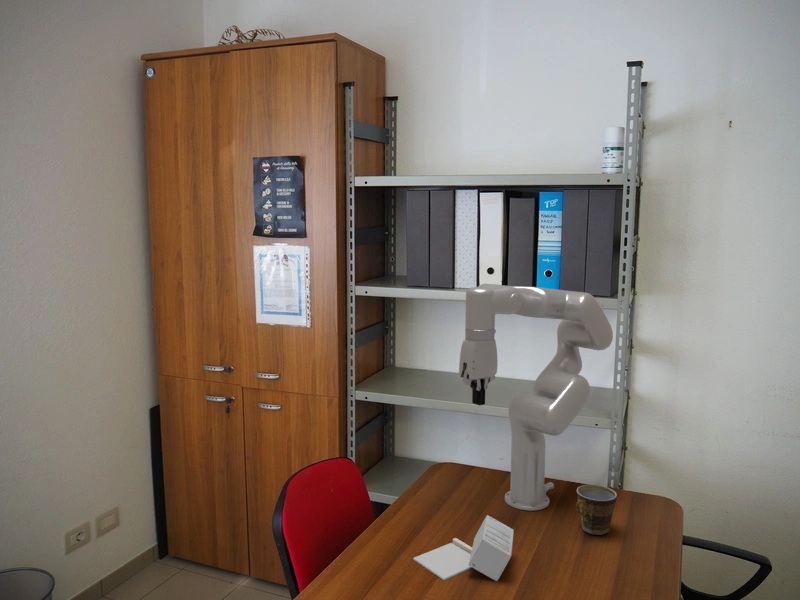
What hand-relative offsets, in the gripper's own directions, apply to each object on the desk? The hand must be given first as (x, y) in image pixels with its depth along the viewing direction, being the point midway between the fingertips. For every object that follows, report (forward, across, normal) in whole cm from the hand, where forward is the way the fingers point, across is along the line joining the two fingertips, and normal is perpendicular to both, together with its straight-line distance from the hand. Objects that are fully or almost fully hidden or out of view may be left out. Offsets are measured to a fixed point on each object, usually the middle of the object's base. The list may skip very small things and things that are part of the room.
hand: (478, 403), depth 164 cm
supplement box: (+27, +8, +14) cm, 32 cm away
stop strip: (+32, +13, +11) cm, 36 cm away
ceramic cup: (+32, -20, +22) cm, 44 cm away
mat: (+32, +20, +11) cm, 39 cm away
